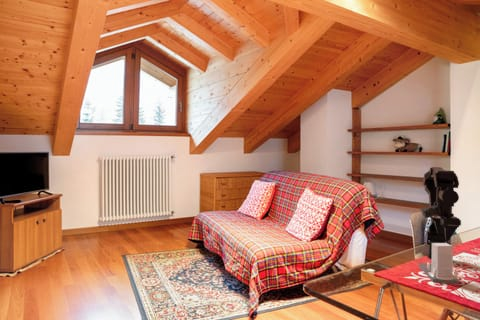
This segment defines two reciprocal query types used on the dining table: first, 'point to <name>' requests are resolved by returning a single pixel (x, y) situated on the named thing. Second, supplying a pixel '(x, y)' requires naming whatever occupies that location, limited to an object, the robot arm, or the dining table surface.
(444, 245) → the skincare box
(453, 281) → the tray
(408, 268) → the dining table surface
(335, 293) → the dining table surface
